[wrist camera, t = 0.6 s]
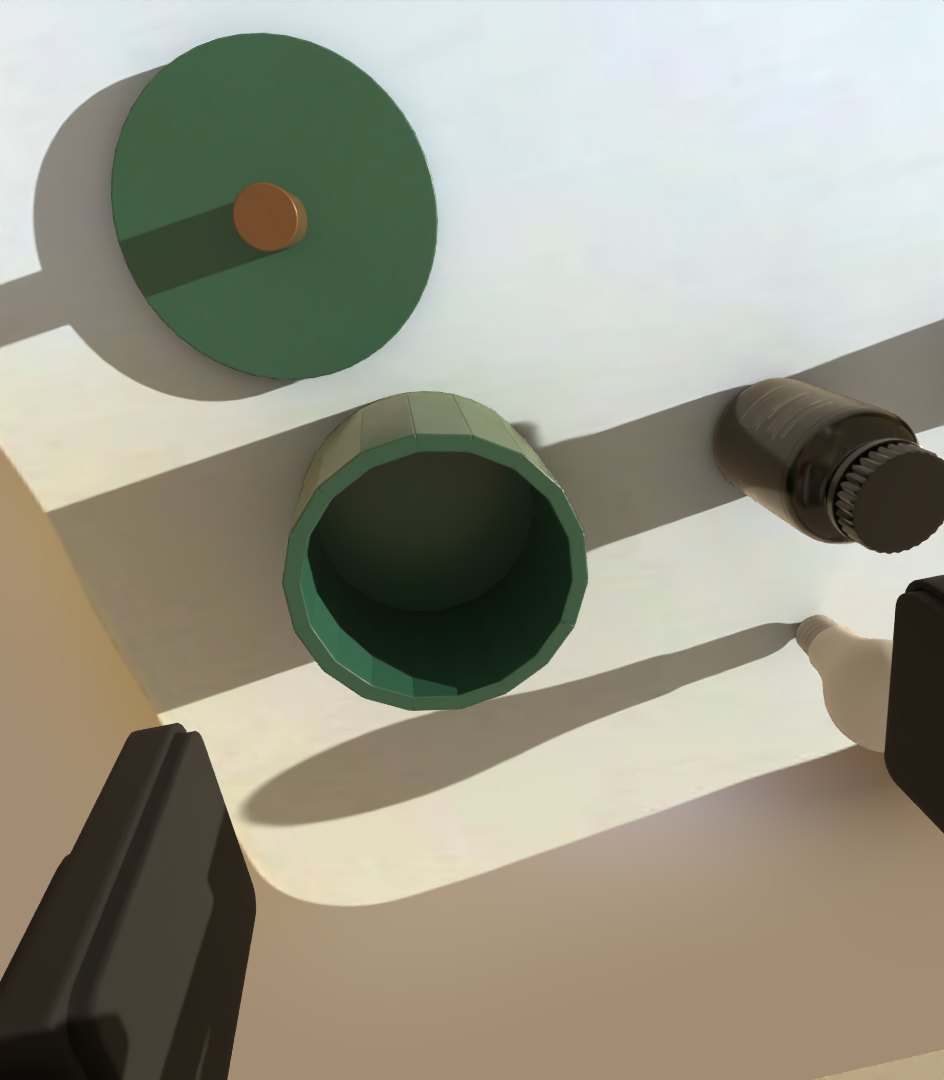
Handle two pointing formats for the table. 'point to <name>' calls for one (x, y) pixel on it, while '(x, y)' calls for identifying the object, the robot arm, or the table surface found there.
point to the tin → (432, 555)
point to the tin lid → (274, 206)
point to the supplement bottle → (831, 465)
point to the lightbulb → (850, 678)
